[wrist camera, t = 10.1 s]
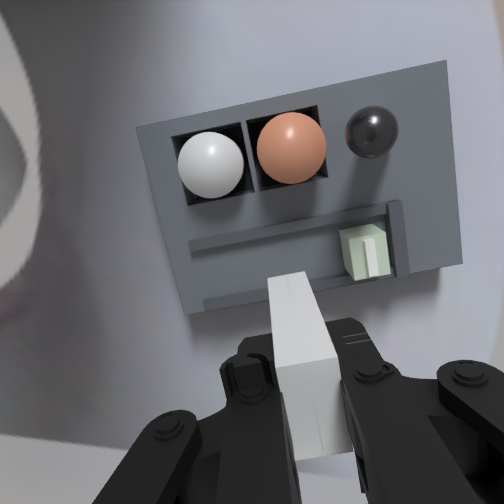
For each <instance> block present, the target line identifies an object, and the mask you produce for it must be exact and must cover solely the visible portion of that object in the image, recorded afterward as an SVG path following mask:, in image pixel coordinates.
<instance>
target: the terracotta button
mask: <svg viewBox="0 0 504 504" xmlns="http://www.w3.org/2000/svg"><path fill="white" fill-rule="evenodd" d="M325 154H326V140H325V136H324V133H323V131H322V129H321V128H320V126H319V125H318V124H317V123H316V122H315V121H314V120H313V119H312V118H310V117H308V116H306V115H304V114H301V113H295V112H290V113H284V114H281V115H278V116H276V117H275V118H273V119H272V120H270V121H269V122H268V123H267V124H266V125H265V127H264V128H263V130H262V131H261V133H260V136H259V139H258V143H257V155H258V159H259V162H260V165H261V166H262V168H263V170H264V171H265V172H266V173H267V174H268V175H269V176H270V177H271V178H273V179H275V180H276V181H279V182H282V183H287V184H295V183H300V182H303V181H305V180H307V179H309V178H311V177H312V176H313V175H314V174H315V173H316V172H317V171H318V170H319V169H320V167H321V165H322V163H323V161H324V158H325Z"/></svg>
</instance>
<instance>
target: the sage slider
mask: <svg viewBox="0 0 504 504" xmlns="http://www.w3.org/2000/svg"><path fill="white" fill-rule="evenodd" d="M339 234H340V240H341V247H342V253H343V260H344V266H345V268H346V270H347V271H348V272H349V274H350V275H351V276H352V278H353V279H354V280H361V279H366V278H371V277H377V276H382V275H388V274H391V272H390V264H389V256H388V248H387V240H386V232H384V231H383V230H381V229H380V228H378V227H376V226H375V225H373V224H367V225H362V226H357V227H352V228H347V229H342V230H339Z"/></svg>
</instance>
